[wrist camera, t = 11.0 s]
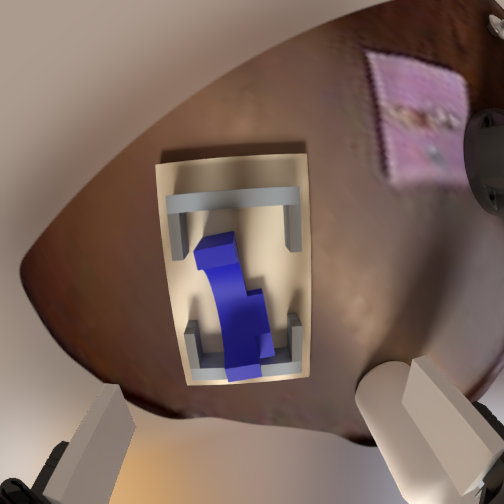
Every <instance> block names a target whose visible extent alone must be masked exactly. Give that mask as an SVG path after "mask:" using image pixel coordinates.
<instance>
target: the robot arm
mask: <svg viewBox="0 0 504 504" xmlns="http://www.w3.org/2000/svg"><path fill="white" fill-rule="evenodd" d="M464 157H465V166H466V171H467V176H468V180H469V183H470V186H471V189H472V191H473V193H474V195H475V197H476V199H477V201H478V202H479V204H480V205H481V206H482V208H483V209H484V210H486V211H487V212H488V213H490V214H492V215H495V216H500V217H504V109H501V108H494V107H493V108H487V109H482V110H479V111H477V112H476V113H475V114H474V115H473V116H472V117H471V119H470V121H469V123H468V126H467V129H466V134H465V141H464ZM401 403H402V404H403V406H404V407H405V409H406V410H407V412H408V413H409V415H410V416H411V418H412V419H413V421H414V422H415V424H416V425H417V427H418V428H419V430H420V432H421V433H422V435H423V436H424V438H425V439H426V441H427V442H428V444H429V446H430V447H431V449H432V450H433V452H434V453H435V455H436V457H437V458H438V460H439V461H440V463H441V465H442V466H443V468H444V469H445V471H446V473H447V474H448V476H449V477H450V479H451V481H452V482H453V484H454V486H455V487H456V489H457V491H458V492H459V494H460V496H463V495H465V494H467V493H468V492H470V491H472V490H473V489H475V488H476V487H477V486H478V485H479V483H480V482H481V481H482V480H483V482H484V483H485V484H484V486H483V487H482V488H481V489H480V490H479V491H478V492H477V493H476V495H475V497H474V499H476V498H477V497H478V496H479V495H480V494H481V496H480V498H479V499H480V501H479V504H504V426H503V424H502V423H501V422H500V421H498V420H497V418H496V417H495V416H494V415H492V412H491V411H490V410H489V409H488V408H487V407H486V406H485V405H483V404H481V403H479V402H477V401H475V402H473V403H470V402H469V401H468V400H467V399H466V397H465V396H464V395H463V394H462V393H461V392H460V391H459V390H458V389H457V388H456V387H455V386H454V384H453V383H452V382H451V381H450V380H449V379H448V378H447V377H446V376H445V375H444V374H443V373H442V372H441V371H440V370H439V369H438V368H437V366H436V365H435V364H434V363H433V362H432V361H431V360H430V359H429V358H428V357H427V356H426V355H425V356H421V357H417V358H414V359H412V363H411V368H410V372H409V376H408V380H407V384H406V387H405V391H404V395H403V398H402V402H401ZM135 428H136V426H135V423H134V421H133V419H132V416H131V414H130V412H129V409H128V407H127V405H126V402H125V399H124V397H123V394H122V392H121V389H120V387H119V385H115V384H104V385H103V387H102V388H101V390H100V391H99V393H98V395H97V396H96V398H95V400H94V402H93V403H92V405H91V406H90V408H89V410H88V411H87V413H86V415H85V417H84V418H83V420H82V422H81V424H80V425H79V427H78V429H77V430H76V432H75V434H74V436H73V437H72V439H71V441H70V443H69V442H65V441H62V442H61V443H59V444H58V445H57V446H56V447H54V449H53V451H52V452H51V454H50V456H49V458H48V459H47V461H46V463H45V465H44V466H43V468H42V470H41V472H40V473H39V475H38V477H37V479H36V481H35V483H34V484H33V486H32V488H31V489H29V488H28V487H27V486H26V485H25V484H24V483H23V482H22V481H21V480H19V479H16V478H9V479H7V480H5V481H4V482H3V483H1V485H0V504H108V503H109V500H110V497H111V494H112V491H113V489H114V486H115V483H116V480H117V477H118V474H119V471H120V469H121V466H122V463H123V460H124V457H125V455H126V452H127V449H128V447H129V444H130V441H131V439H132V436H133V433H134V430H135Z"/></svg>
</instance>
